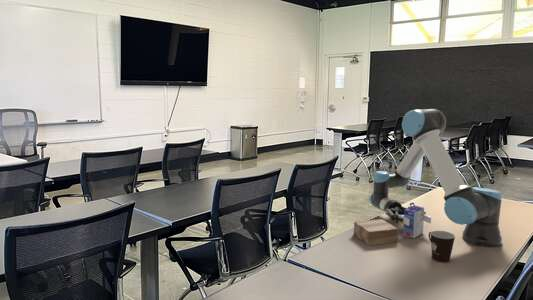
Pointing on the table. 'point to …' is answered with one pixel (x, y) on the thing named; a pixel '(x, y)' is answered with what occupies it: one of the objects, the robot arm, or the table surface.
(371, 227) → the walnut plinth
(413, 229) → the ink cartridge box
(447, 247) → the coffee mug
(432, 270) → the table surface
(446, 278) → the table surface
